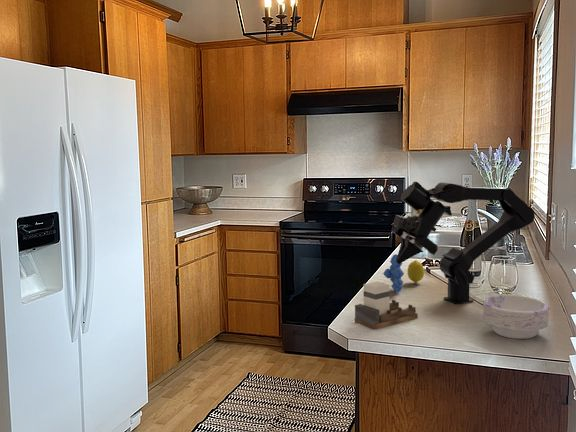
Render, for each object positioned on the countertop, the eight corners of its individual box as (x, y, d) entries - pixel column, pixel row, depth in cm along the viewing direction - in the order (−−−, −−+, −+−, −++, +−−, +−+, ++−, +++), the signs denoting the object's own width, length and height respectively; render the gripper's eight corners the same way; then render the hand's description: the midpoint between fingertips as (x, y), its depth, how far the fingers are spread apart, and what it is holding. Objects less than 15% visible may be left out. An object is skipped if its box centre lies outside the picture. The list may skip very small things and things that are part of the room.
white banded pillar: (377, 313, 156) (377, 281, 155) (389, 317, 152) (389, 284, 151) (363, 316, 153) (363, 284, 152) (375, 320, 149) (375, 287, 148)
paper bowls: (553, 345, 132) (554, 312, 131) (484, 341, 136) (485, 309, 135) (543, 325, 147) (543, 295, 146) (481, 322, 151) (481, 293, 150)
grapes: (381, 286, 190) (381, 251, 189) (401, 286, 190) (401, 251, 188) (384, 295, 179) (384, 258, 177) (406, 295, 178) (406, 258, 177)
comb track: (396, 311, 162) (396, 294, 162) (417, 317, 156) (417, 300, 155) (354, 322, 154) (354, 304, 153) (374, 329, 147) (374, 311, 146)
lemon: (405, 284, 193) (405, 261, 192) (410, 280, 198) (410, 258, 197) (421, 285, 190) (421, 262, 189) (425, 282, 195) (425, 259, 194)
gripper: (394, 199, 173) (364, 241, 173) (424, 209, 155) (391, 256, 155) (419, 219, 176) (391, 260, 176) (451, 231, 159) (420, 277, 159)
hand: (397, 262), depth 166 cm, fingers closed
